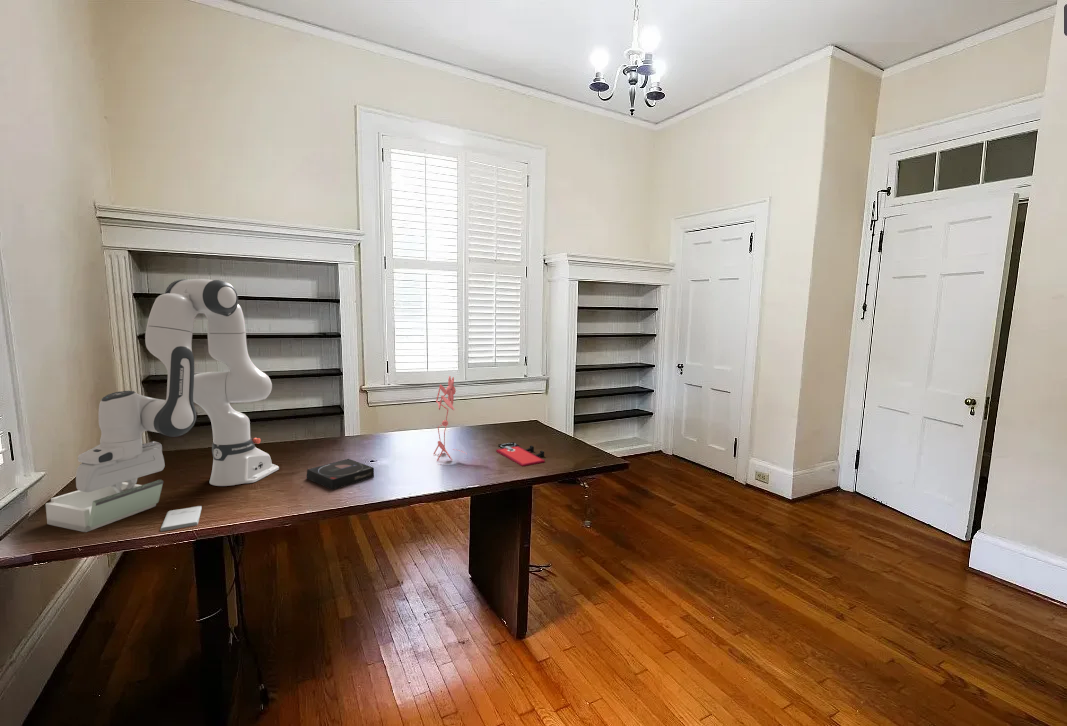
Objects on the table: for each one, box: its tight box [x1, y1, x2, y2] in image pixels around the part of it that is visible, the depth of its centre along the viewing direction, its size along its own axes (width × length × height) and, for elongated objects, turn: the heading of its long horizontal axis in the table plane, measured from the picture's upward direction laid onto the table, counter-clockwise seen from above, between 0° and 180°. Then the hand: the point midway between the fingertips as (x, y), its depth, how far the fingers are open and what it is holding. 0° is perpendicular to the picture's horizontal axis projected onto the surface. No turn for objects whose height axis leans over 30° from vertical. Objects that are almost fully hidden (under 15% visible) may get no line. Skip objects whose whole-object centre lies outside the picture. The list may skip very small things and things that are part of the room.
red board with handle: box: [495, 441, 546, 467], centre depth 203 cm, size 30×3×15 cm
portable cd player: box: [306, 458, 375, 491], centre depth 168 cm, size 16×17×4 cm
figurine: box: [433, 375, 468, 466], centre depth 195 cm, size 15×26×35 cm, turn 22°
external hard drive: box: [160, 505, 202, 532], centre depth 132 cm, size 2×8×12 cm
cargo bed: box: [45, 482, 157, 533], centre depth 133 cm, size 18×15×7 cm
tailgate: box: [88, 478, 165, 527], centre depth 131 cm, size 17×1×8 cm, turn 165°
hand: (125, 495), depth 130 cm, fingers closed, pressing on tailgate
